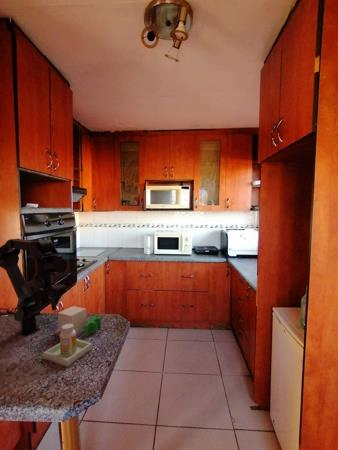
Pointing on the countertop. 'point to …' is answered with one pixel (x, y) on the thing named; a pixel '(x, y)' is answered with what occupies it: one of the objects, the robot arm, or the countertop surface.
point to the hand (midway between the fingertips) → (45, 308)
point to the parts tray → (66, 361)
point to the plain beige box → (72, 319)
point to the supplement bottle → (68, 340)
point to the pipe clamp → (92, 325)
